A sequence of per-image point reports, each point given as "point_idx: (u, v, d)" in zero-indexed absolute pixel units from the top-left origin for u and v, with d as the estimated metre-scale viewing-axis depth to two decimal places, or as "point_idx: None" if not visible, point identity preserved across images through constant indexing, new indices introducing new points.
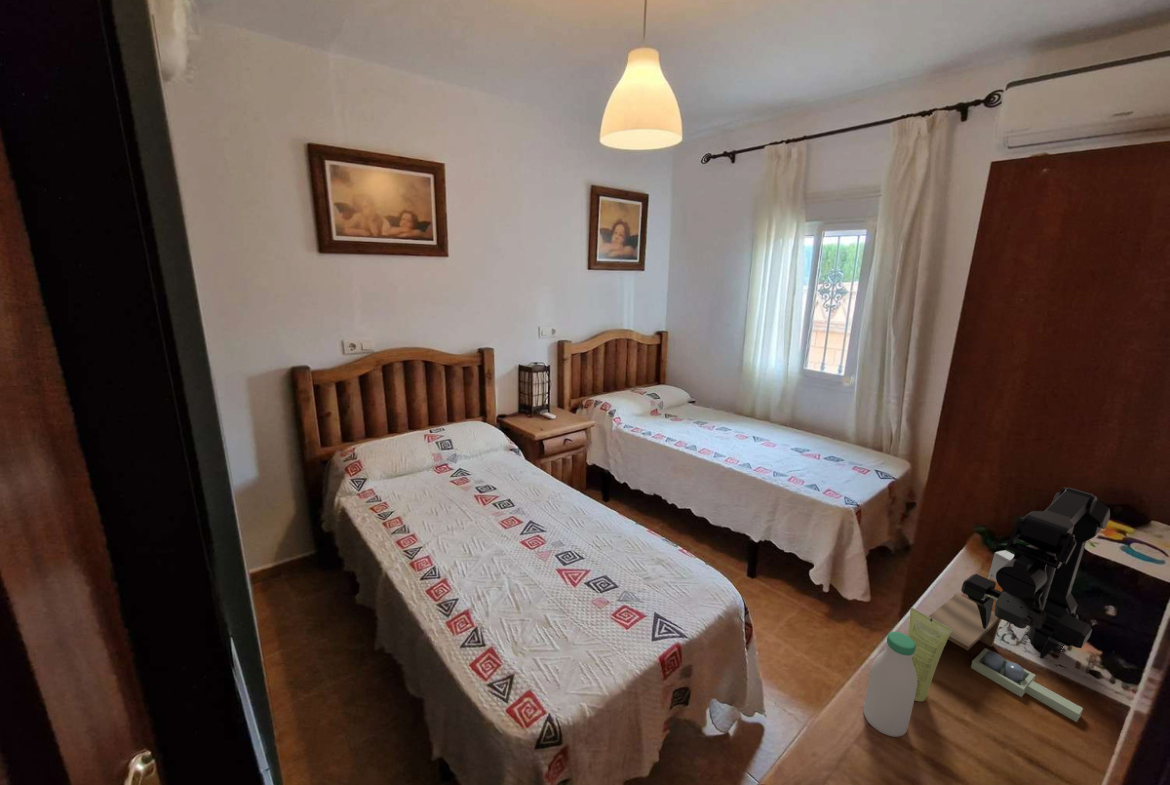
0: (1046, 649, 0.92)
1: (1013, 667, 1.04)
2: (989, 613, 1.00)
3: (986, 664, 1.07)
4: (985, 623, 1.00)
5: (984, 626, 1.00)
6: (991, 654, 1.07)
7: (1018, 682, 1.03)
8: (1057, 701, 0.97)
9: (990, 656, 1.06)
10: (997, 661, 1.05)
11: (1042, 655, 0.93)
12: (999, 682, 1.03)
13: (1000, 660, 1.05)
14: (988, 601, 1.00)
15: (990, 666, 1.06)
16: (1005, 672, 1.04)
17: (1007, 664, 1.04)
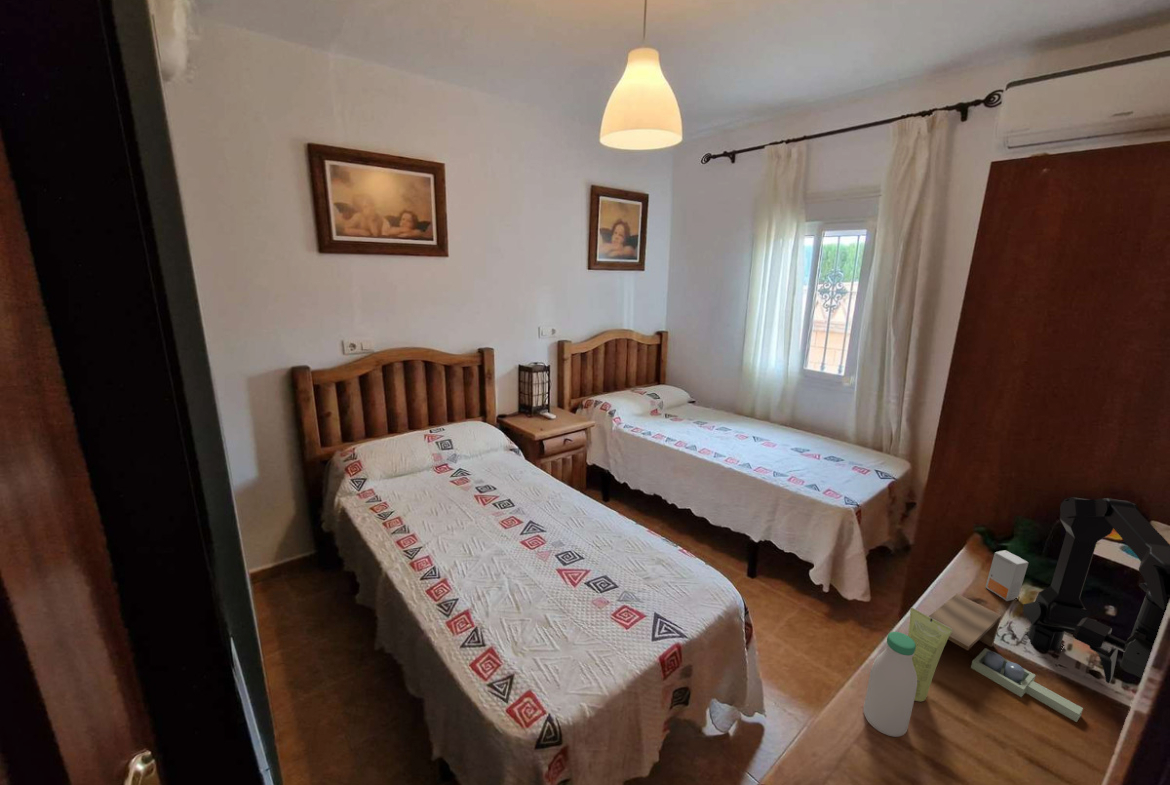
0: None
1: (1013, 667, 1.04)
2: (1113, 666, 0.91)
3: (986, 664, 1.07)
4: (1109, 677, 0.90)
5: (1108, 680, 0.91)
6: (991, 654, 1.07)
7: (1018, 682, 1.03)
8: (1057, 701, 0.97)
9: (990, 656, 1.06)
10: (998, 661, 1.05)
11: None
12: (999, 682, 1.03)
13: (1000, 660, 1.05)
14: (1114, 653, 0.90)
15: (990, 666, 1.06)
16: (1005, 672, 1.04)
17: (1007, 664, 1.04)
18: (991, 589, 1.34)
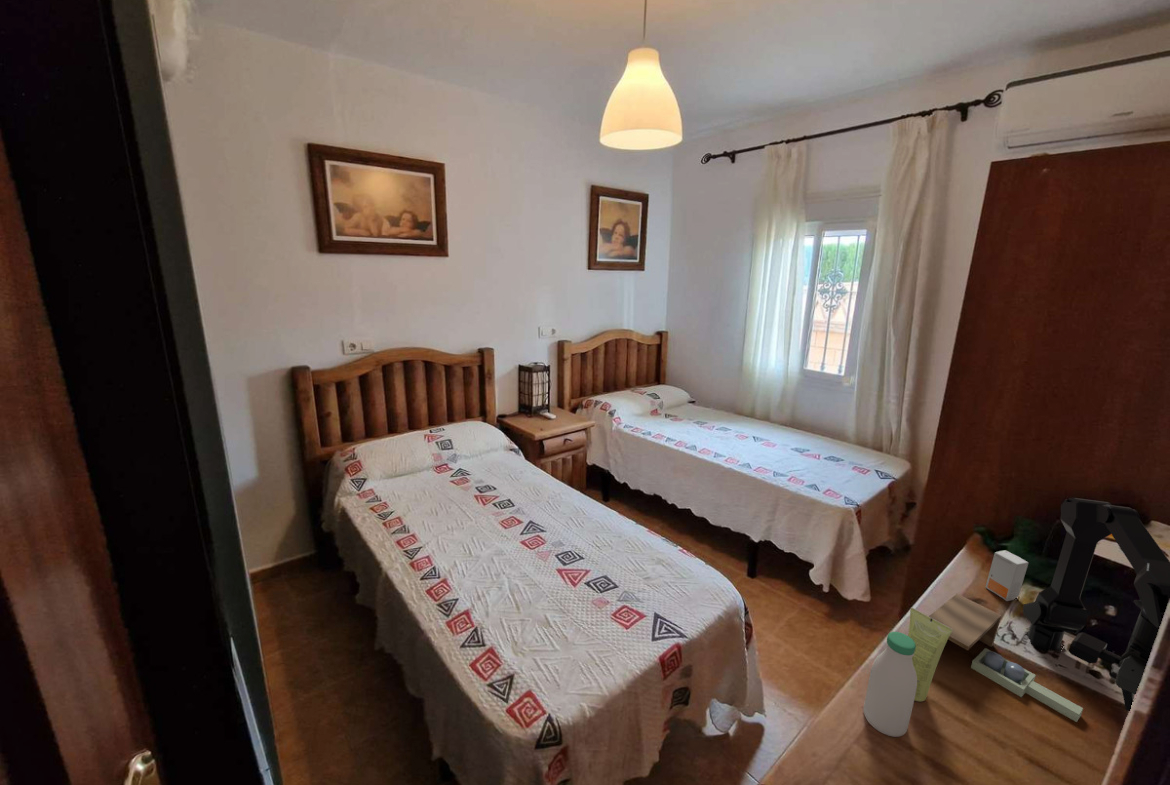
0: None
1: (1013, 667, 1.03)
2: (1133, 693, 0.89)
3: (986, 664, 1.07)
4: (1129, 705, 0.89)
5: (1128, 708, 0.89)
6: (991, 654, 1.07)
7: (1018, 682, 1.03)
8: (1057, 701, 0.97)
9: (990, 656, 1.06)
10: (998, 661, 1.05)
11: None
12: (999, 682, 1.03)
13: (1000, 660, 1.05)
14: None
15: (990, 666, 1.06)
16: (1005, 672, 1.04)
17: (1007, 664, 1.04)
18: (991, 589, 1.34)
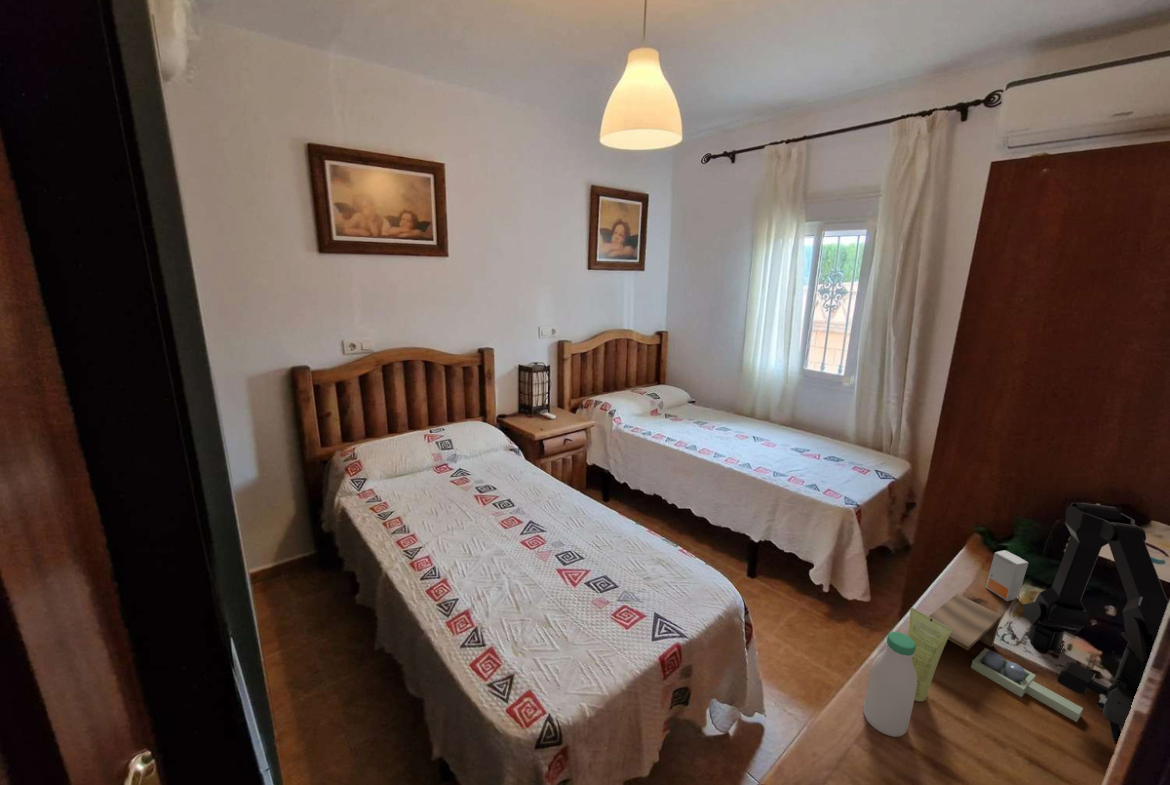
0: None
1: (1013, 667, 1.03)
2: None
3: (986, 664, 1.07)
4: (1117, 735, 0.91)
5: (1115, 738, 0.91)
6: (991, 654, 1.07)
7: (1018, 682, 1.03)
8: (1057, 701, 0.97)
9: (990, 655, 1.06)
10: (997, 661, 1.05)
11: None
12: (999, 682, 1.03)
13: (1000, 660, 1.05)
14: None
15: (990, 666, 1.06)
16: (1005, 672, 1.04)
17: (1007, 664, 1.04)
18: (991, 589, 1.34)
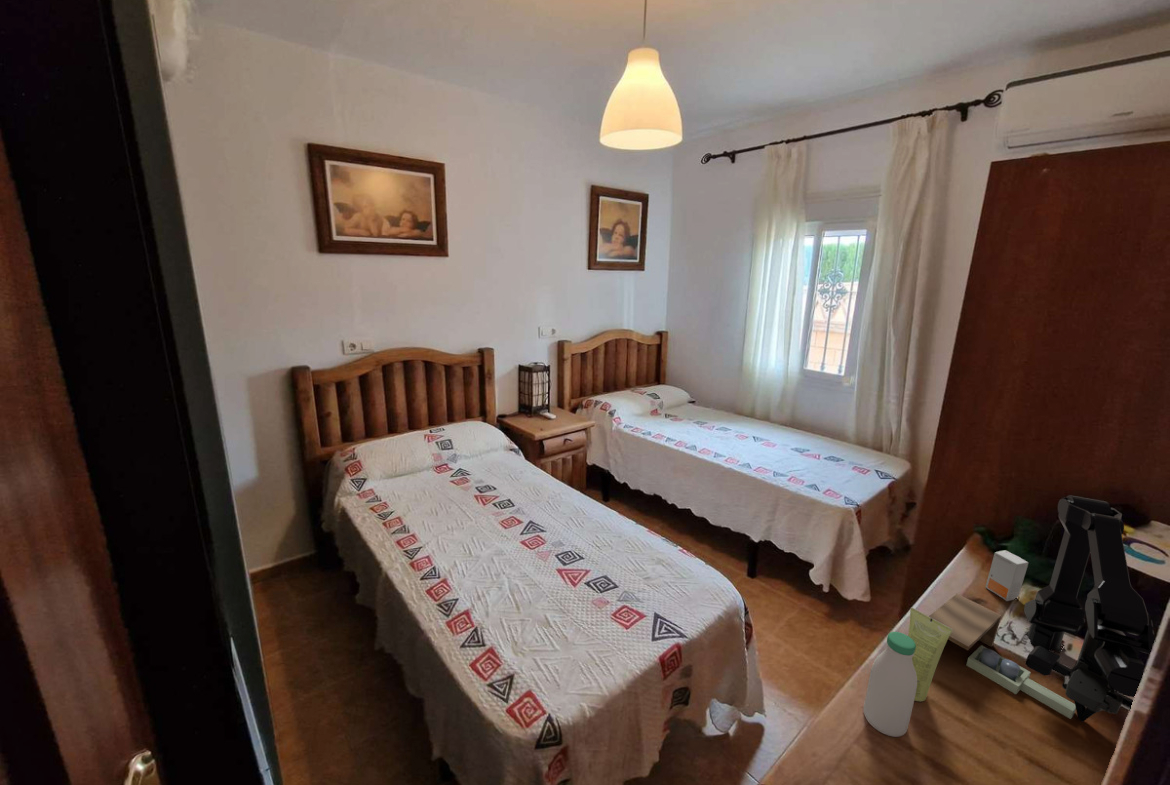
0: (1087, 713, 0.94)
1: (1008, 664, 1.04)
2: None
3: (982, 661, 1.08)
4: (1081, 715, 0.95)
5: (1080, 718, 0.95)
6: (987, 651, 1.07)
7: (1013, 679, 1.03)
8: (1052, 698, 0.98)
9: (986, 653, 1.07)
10: (993, 658, 1.06)
11: (1083, 718, 0.94)
12: (994, 679, 1.04)
13: (996, 657, 1.06)
14: None
15: (986, 663, 1.07)
16: (1000, 669, 1.05)
17: (1003, 661, 1.05)
18: (991, 589, 1.34)
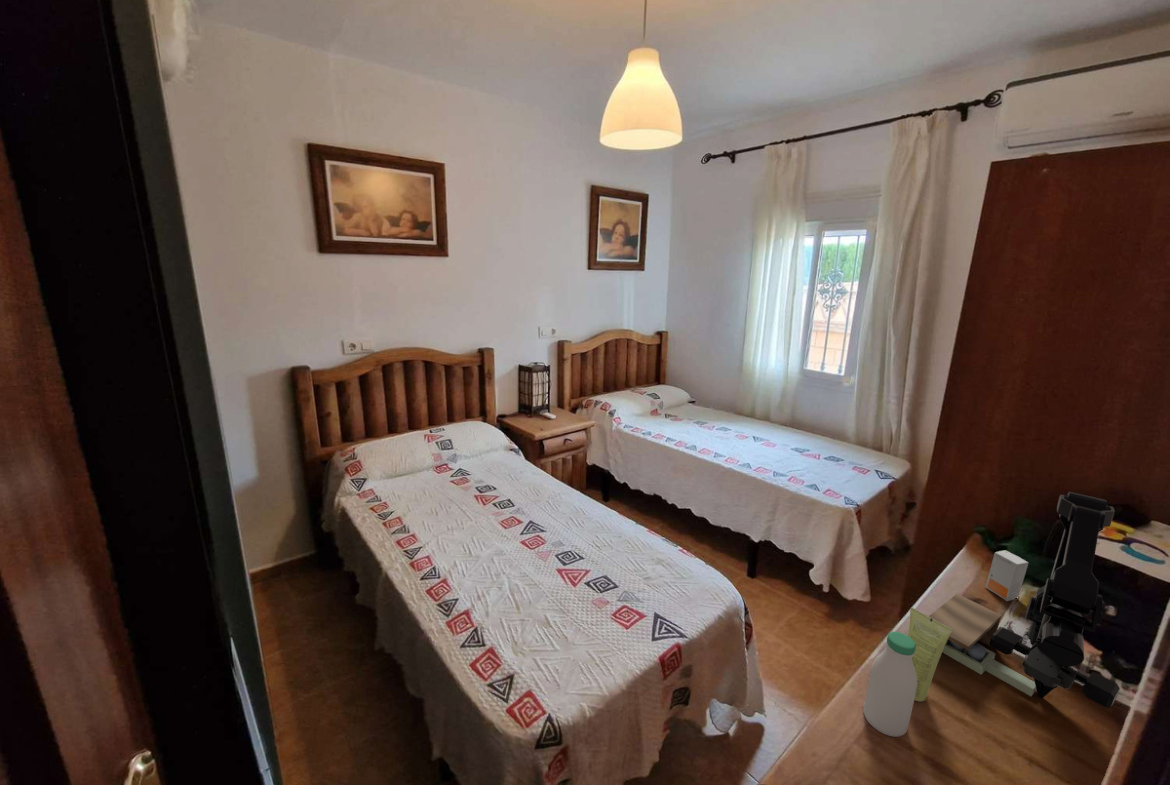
0: (1045, 690, 0.99)
1: (975, 646, 1.09)
2: None
3: (950, 644, 1.12)
4: (1040, 692, 1.00)
5: (1039, 694, 1.00)
6: None
7: (979, 661, 1.08)
8: (1014, 677, 1.03)
9: None
10: None
11: (1042, 695, 0.99)
12: (961, 661, 1.09)
13: None
14: None
15: (954, 646, 1.12)
16: (968, 651, 1.10)
17: None
18: (991, 589, 1.34)
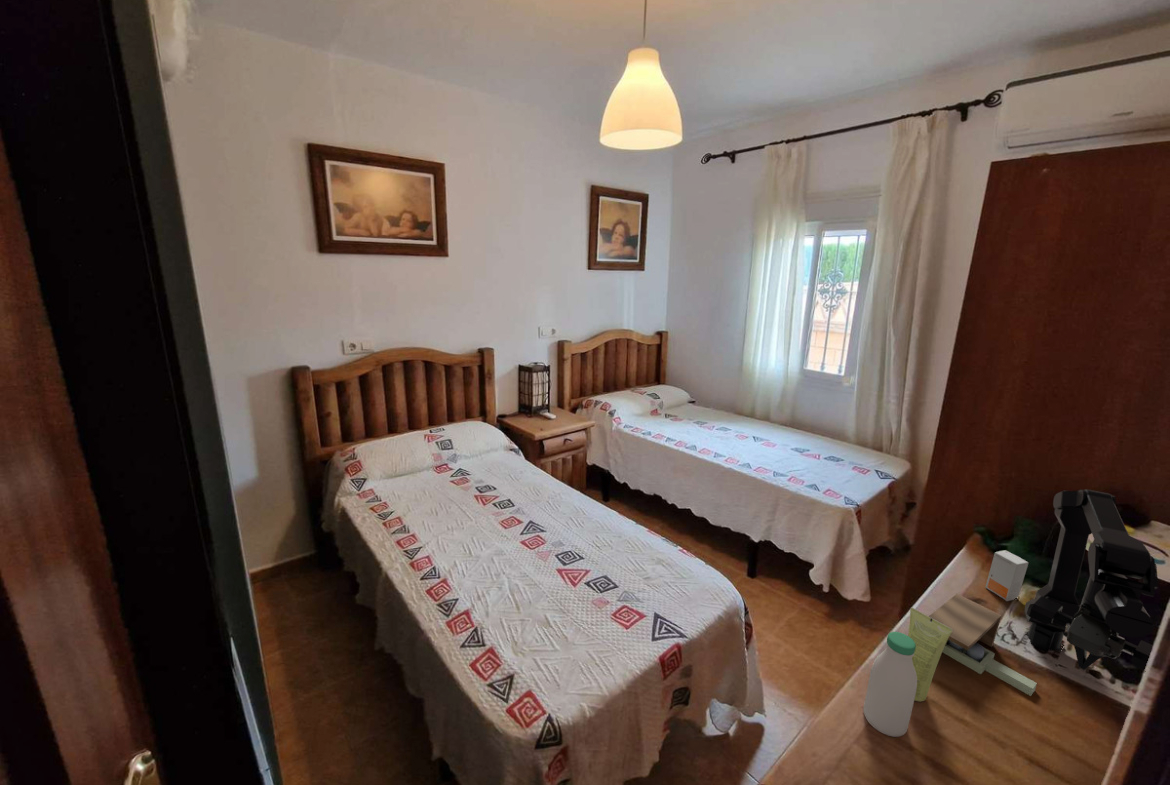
0: (1089, 661, 0.93)
1: (974, 646, 1.09)
2: (1086, 651, 0.94)
3: (950, 644, 1.12)
4: (1082, 662, 0.94)
5: (1080, 665, 0.94)
6: None
7: (979, 660, 1.08)
8: (1013, 677, 1.03)
9: None
10: None
11: (1084, 666, 0.94)
12: (961, 661, 1.09)
13: None
14: None
15: (953, 646, 1.12)
16: (967, 651, 1.10)
17: None
18: (991, 589, 1.34)
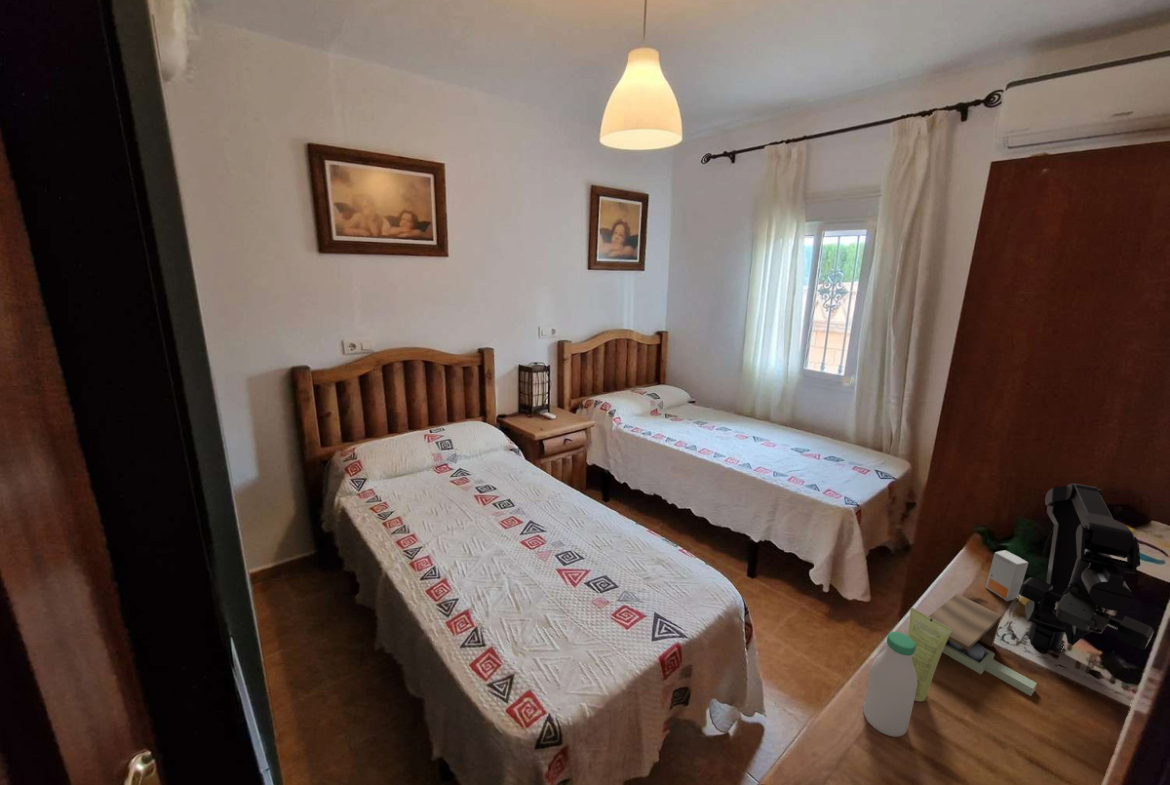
0: (1077, 636, 0.98)
1: (974, 646, 1.09)
2: (1074, 628, 1.00)
3: (950, 644, 1.12)
4: (1070, 638, 1.00)
5: (1069, 641, 1.00)
6: None
7: (978, 660, 1.08)
8: (1013, 677, 1.03)
9: None
10: None
11: (1073, 642, 0.99)
12: (961, 661, 1.09)
13: None
14: None
15: (953, 646, 1.12)
16: (967, 651, 1.10)
17: None
18: (991, 589, 1.34)
